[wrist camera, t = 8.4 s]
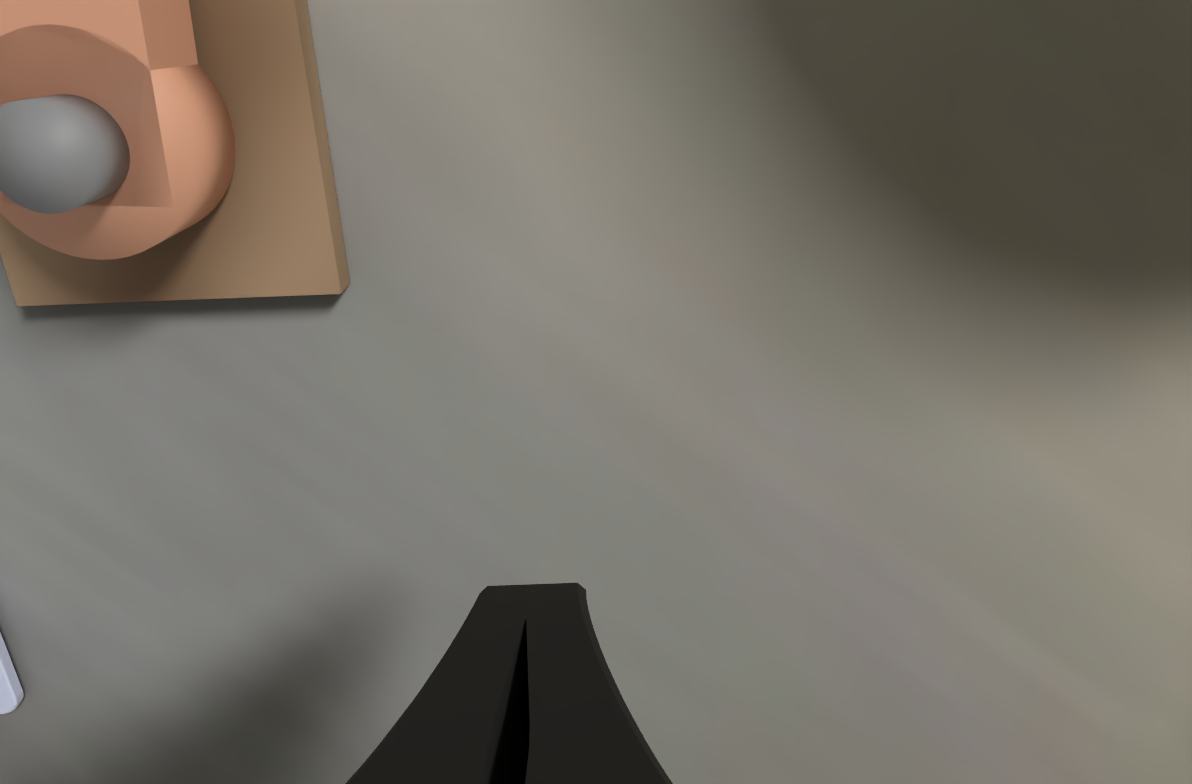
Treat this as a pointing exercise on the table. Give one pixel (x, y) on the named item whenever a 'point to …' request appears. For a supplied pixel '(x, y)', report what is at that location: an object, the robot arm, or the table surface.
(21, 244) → the pintle plate
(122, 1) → the link
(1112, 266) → the table surface
